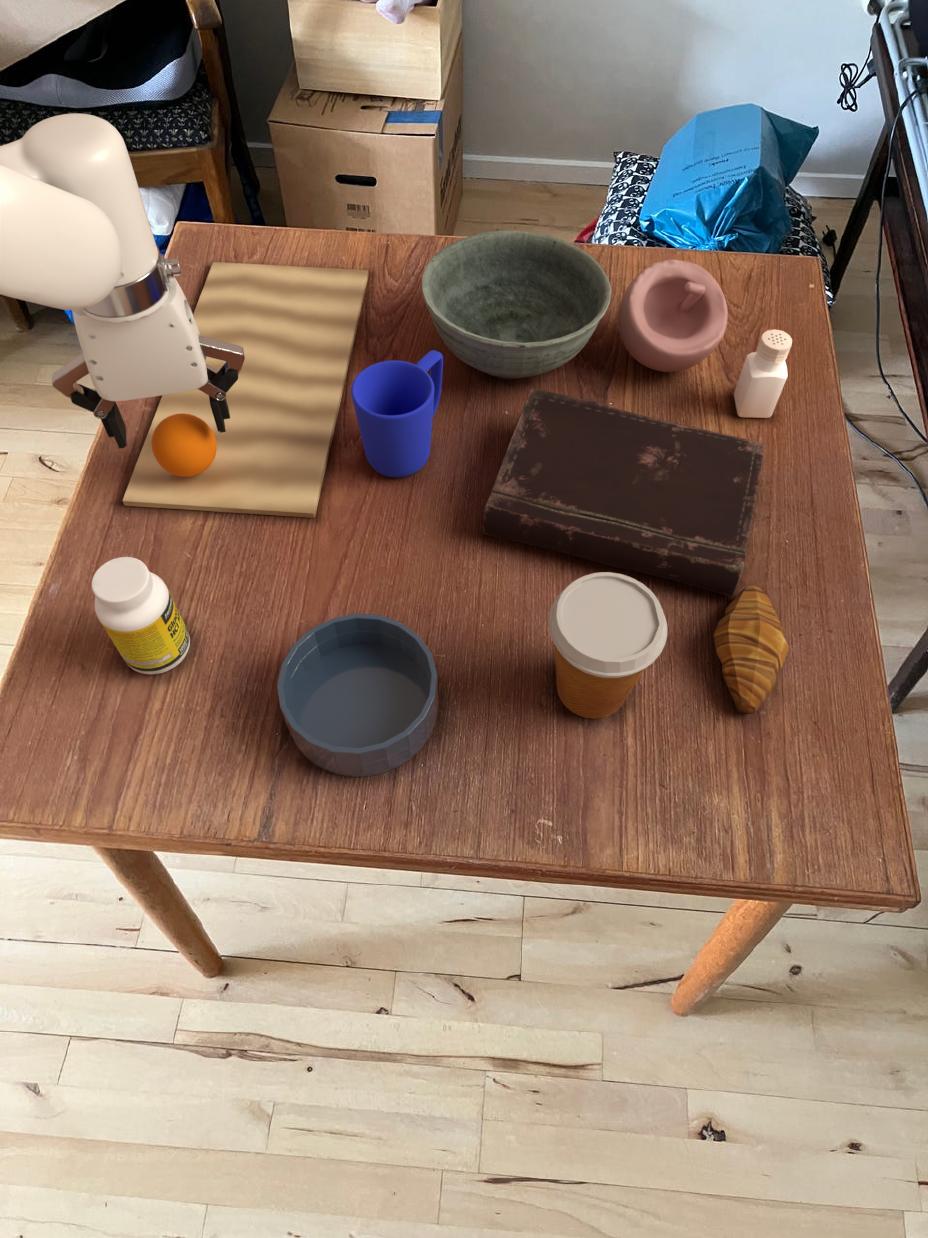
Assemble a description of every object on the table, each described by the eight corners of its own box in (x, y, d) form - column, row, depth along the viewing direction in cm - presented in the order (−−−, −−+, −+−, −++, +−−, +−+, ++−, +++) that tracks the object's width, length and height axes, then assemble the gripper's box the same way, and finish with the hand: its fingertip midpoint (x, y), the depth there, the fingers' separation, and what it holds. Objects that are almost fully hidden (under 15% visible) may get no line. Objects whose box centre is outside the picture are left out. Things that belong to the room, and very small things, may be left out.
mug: (470, 429, 97) (471, 357, 89) (407, 498, 92) (402, 429, 83) (410, 400, 100) (405, 328, 91) (345, 466, 94) (333, 395, 86)
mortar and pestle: (641, 405, 100) (660, 321, 90) (593, 339, 106) (606, 254, 96) (732, 378, 102) (760, 293, 92) (681, 315, 108) (702, 230, 98)
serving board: (314, 518, 90) (313, 513, 90) (124, 505, 91) (121, 500, 91) (368, 275, 112) (368, 269, 111) (214, 266, 113) (212, 261, 112)
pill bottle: (198, 664, 81) (164, 596, 72) (130, 686, 80) (87, 619, 70) (184, 611, 84) (150, 540, 75) (119, 632, 83) (76, 561, 74)
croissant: (711, 589, 86) (724, 558, 82) (782, 601, 85) (799, 571, 81) (703, 711, 79) (717, 684, 74) (780, 725, 78) (799, 699, 74)
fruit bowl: (298, 792, 74) (289, 769, 70) (278, 659, 81) (268, 630, 77) (453, 757, 76) (452, 732, 72) (420, 630, 83) (418, 600, 79)
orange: (155, 490, 90) (149, 441, 85) (153, 449, 94) (147, 400, 89) (220, 488, 92) (218, 440, 87) (215, 448, 96) (213, 400, 91)
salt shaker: (766, 395, 101) (793, 326, 93) (772, 420, 98) (799, 352, 90) (731, 394, 101) (755, 325, 93) (736, 419, 98) (760, 351, 90)
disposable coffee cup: (623, 752, 76) (648, 685, 66) (522, 710, 79) (531, 640, 68) (657, 665, 81) (685, 591, 71) (561, 629, 83) (575, 551, 73)
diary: (729, 604, 85) (743, 574, 81) (481, 542, 89) (482, 509, 85) (754, 467, 94) (768, 433, 90) (530, 416, 98) (533, 381, 94)
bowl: (407, 403, 100) (402, 331, 91) (442, 288, 111) (441, 214, 102) (590, 427, 98) (602, 356, 89) (607, 307, 109) (619, 234, 100)
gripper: (219, 241, 77) (255, 392, 91) (12, 267, 74) (82, 418, 89) (227, 293, 73) (263, 443, 87) (9, 322, 70) (83, 472, 85)
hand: (172, 430), depth 88 cm, fingers open, 9 cm apart
